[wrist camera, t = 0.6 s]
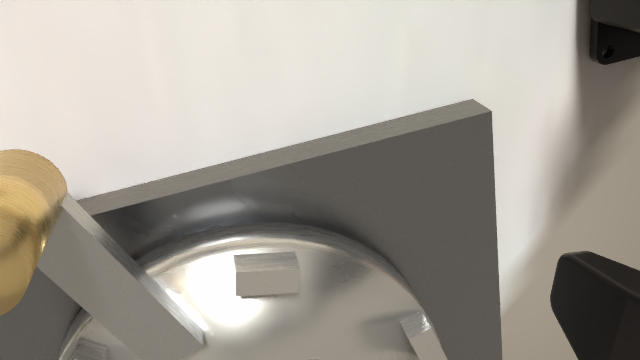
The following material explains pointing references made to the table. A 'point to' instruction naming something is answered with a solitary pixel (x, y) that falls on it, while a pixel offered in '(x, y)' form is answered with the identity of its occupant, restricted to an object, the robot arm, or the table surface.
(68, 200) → the grey rounded piece
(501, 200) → the table surface
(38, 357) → the cap housing
